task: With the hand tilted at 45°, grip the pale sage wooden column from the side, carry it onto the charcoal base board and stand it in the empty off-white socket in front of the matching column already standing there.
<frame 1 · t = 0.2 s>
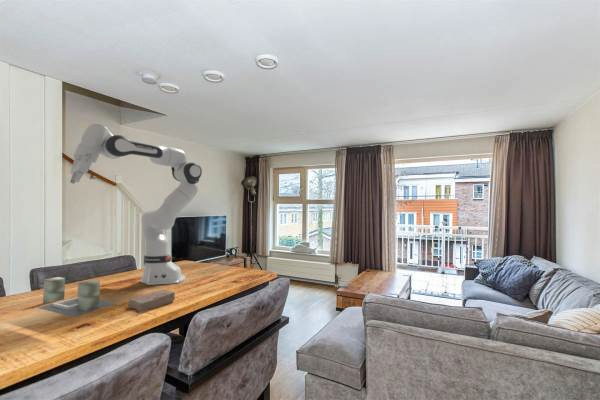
hand: (74, 182, 130), 52 cm above the table, tool tilted 20°, fingers open, 8 cm apart
base board: (78, 308, 114), on the table
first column: (88, 307, 111), resting on base board
brick: (152, 306, 119), on the table
column: (53, 302, 119), on the table
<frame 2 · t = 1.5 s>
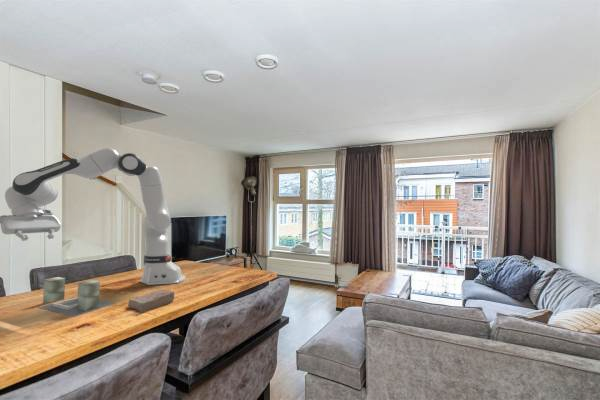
hand: (38, 238, 124), 26 cm above the table, tool tilted 45°, fingers open, 8 cm apart
nothing on the table moved.
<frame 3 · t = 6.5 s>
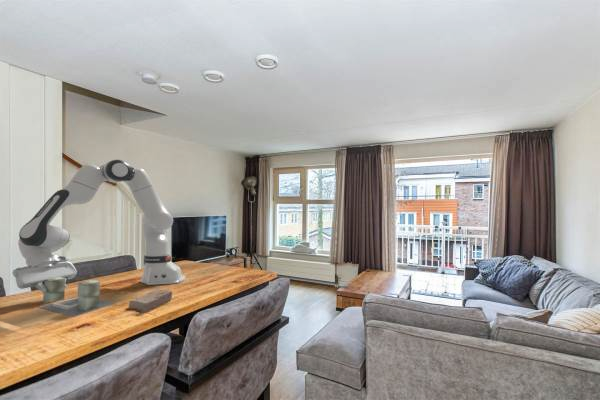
hand: (55, 289, 119), 5 cm above the table, tool tilted 45°, fingers closed on column, 5 cm apart
column: (53, 302, 119), on the table, touching gripper
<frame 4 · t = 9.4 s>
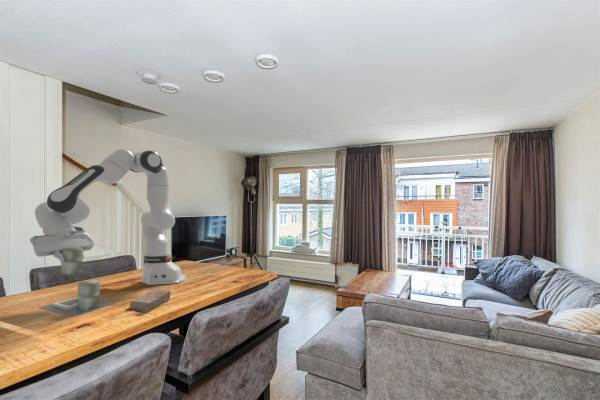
hand: (73, 259, 116), 19 cm above the table, tool tilted 45°, fingers closed on column, 5 cm apart
column: (71, 272, 116), point 14 cm above the table, touching gripper
when the fingers open (9 cm above the table, at t = 12.7 s): column drops 2 cm, resting on base board.
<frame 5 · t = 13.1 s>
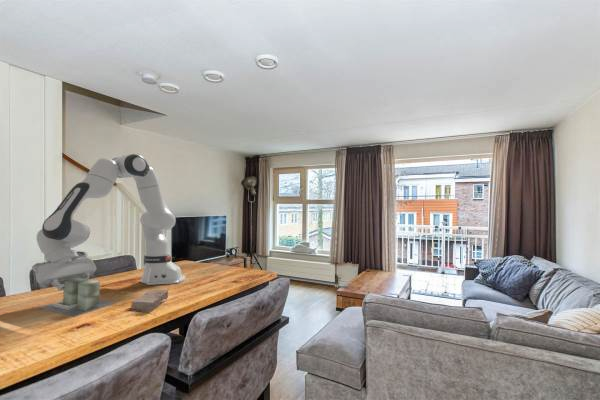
hand: (75, 286, 115), 9 cm above the table, tool tilted 45°, fingers open, 8 cm apart
column: (73, 304, 115), point 1 cm above the table, touching base board
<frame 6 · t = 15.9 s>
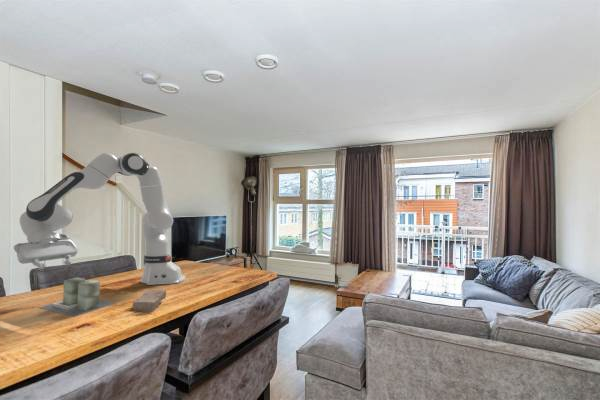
hand: (56, 266, 119), 15 cm above the table, tool tilted 45°, fingers open, 8 cm apart
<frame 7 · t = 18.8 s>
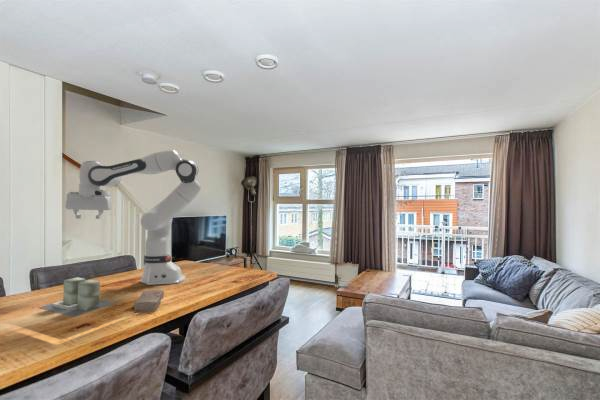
hand: (88, 218, 147), 34 cm above the table, tool pointing down, fingers open, 8 cm apart
at the end: column 0.0 cm from the target spot on the base board, point 1.2 cm above the base board's base; column tilted 0°; the gripper is holding nothing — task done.
